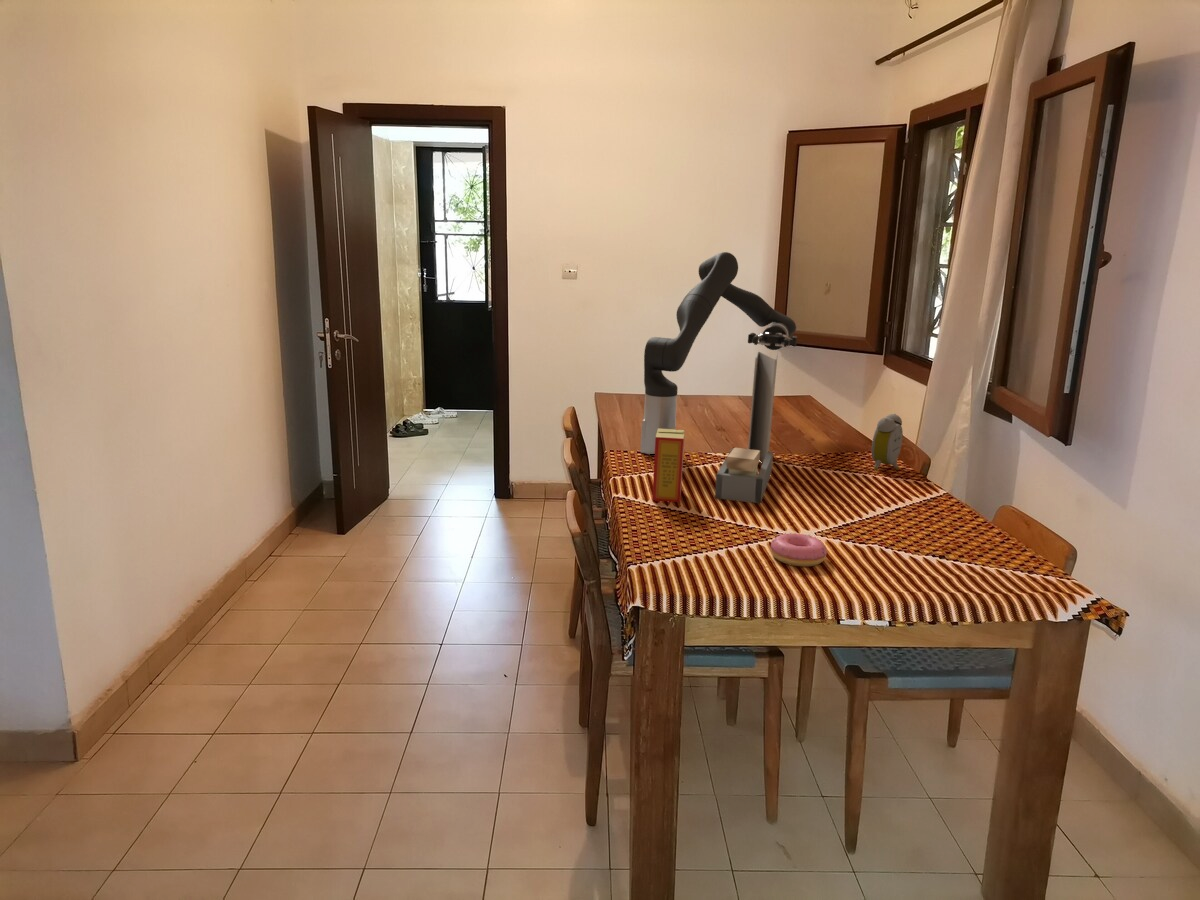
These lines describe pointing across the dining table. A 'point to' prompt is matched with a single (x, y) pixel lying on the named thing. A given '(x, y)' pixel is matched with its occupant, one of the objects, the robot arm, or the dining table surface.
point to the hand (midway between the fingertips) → (770, 342)
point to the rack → (743, 483)
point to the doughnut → (798, 549)
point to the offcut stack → (743, 462)
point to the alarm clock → (887, 441)
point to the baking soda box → (668, 465)
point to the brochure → (762, 403)
